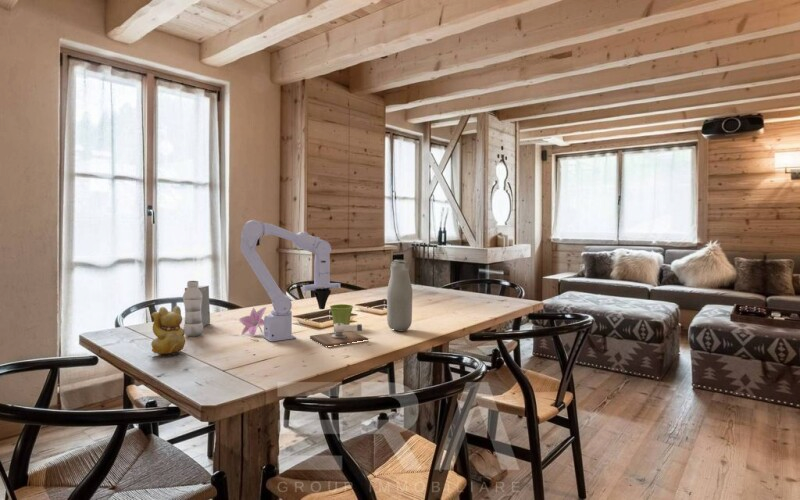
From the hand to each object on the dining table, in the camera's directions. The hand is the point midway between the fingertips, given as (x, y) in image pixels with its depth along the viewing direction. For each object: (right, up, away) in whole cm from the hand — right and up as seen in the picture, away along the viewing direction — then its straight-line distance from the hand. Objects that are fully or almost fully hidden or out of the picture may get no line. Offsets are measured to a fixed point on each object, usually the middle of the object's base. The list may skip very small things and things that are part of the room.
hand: (321, 308), depth 172 cm
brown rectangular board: (+7, -10, -6) cm, 14 cm away
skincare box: (-52, -9, +13) cm, 54 cm away
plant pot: (+6, -9, +13) cm, 17 cm away
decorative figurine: (-43, -11, -27) cm, 52 cm away
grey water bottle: (+29, -10, +10) cm, 32 cm away
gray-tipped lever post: (+10, -7, -6) cm, 14 cm away
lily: (-26, -10, +1) cm, 27 cm away
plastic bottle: (-46, -10, -4) cm, 47 cm away
